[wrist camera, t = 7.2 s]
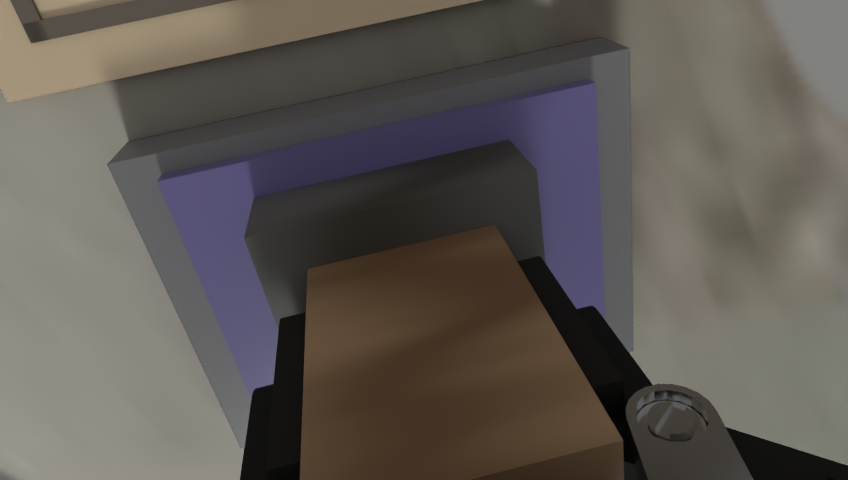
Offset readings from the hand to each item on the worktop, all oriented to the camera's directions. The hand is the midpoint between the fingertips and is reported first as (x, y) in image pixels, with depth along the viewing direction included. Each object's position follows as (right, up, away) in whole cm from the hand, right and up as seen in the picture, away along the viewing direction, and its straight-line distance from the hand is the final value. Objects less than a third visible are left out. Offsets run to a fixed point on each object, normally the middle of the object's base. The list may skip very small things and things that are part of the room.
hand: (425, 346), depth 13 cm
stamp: (0, +1, +3) cm, 3 cm away
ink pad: (-1, +2, +4) cm, 5 cm away
